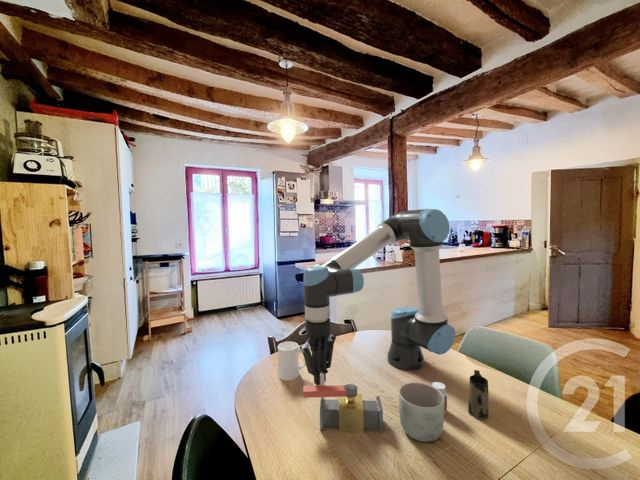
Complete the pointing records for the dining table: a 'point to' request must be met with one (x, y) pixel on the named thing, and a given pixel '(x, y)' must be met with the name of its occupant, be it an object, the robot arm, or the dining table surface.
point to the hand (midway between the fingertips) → (320, 392)
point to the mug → (288, 361)
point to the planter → (421, 411)
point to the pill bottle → (442, 389)
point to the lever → (330, 391)
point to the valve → (351, 414)
